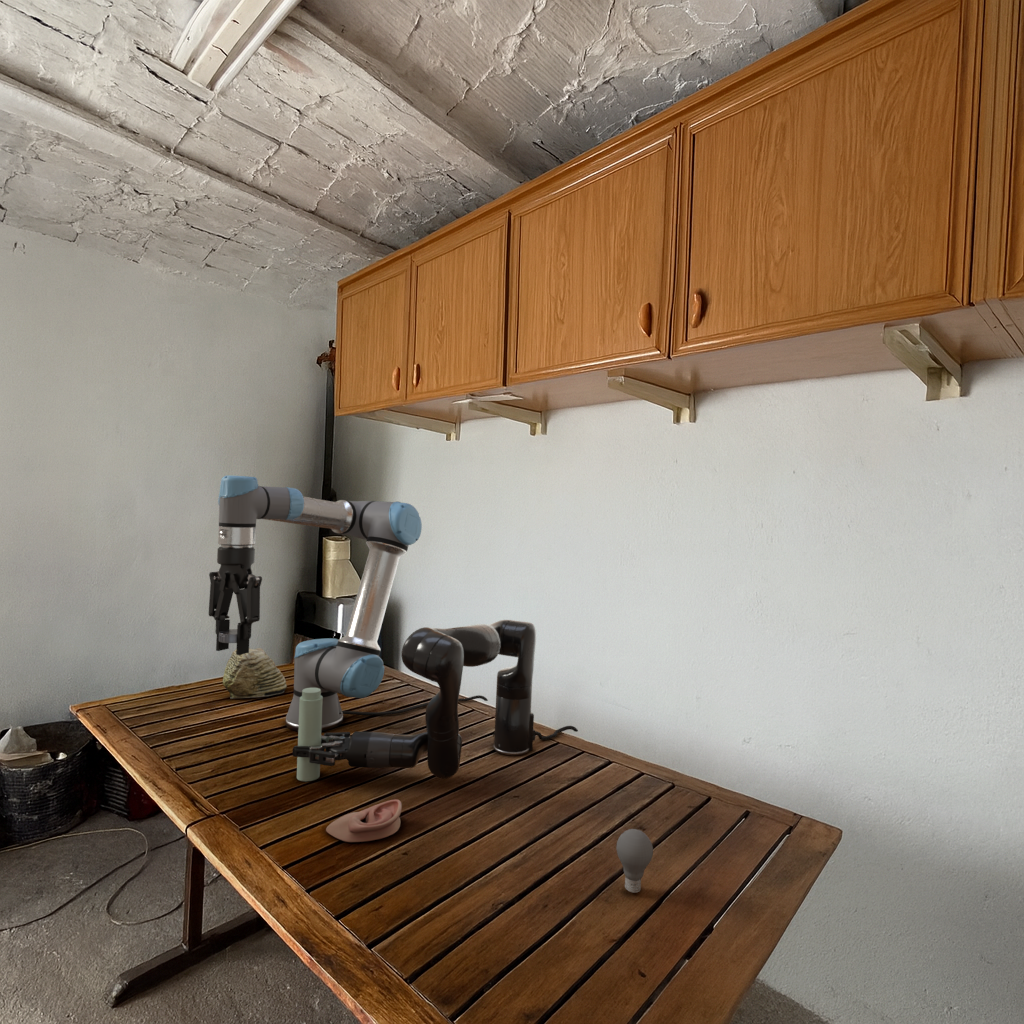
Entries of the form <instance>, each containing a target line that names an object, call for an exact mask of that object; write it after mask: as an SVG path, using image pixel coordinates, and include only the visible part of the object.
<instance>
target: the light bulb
mask: <svg viewBox="0 0 1024 1024" xmlns="http://www.w3.org/2000/svg"><path fill="white" fill-rule="evenodd" d="M615 849H616V854H617V857H618V859H619V861H620V863H621V865H622V867H623V873H624V874H623V875H624V876H625V878H624V888H625V890H627V891H628V892H630V893H634V894H635V893H639V892H640V891H641V889H642V887H641V886H642V879H643V877H644V875H645V871H646V868H647V867H648V866H649V864H650V863H651V861H652V859H653V855H654V847H653V843H652V841H651V838H649V836H648V835H647V834H646V833H645V832H643V831H642V830H641V829H636V828H629V829H627V830H625V831H623V832H622V833H621V834H620V835H619V837H618V839H617V841H616V847H615Z"/></svg>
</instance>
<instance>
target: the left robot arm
mask: <svg viewBox="0 0 1024 1024" xmlns="http://www.w3.org/2000/svg"><path fill="white" fill-rule="evenodd" d="M217 500H218V501H217V503H218V535H217V536H218V537H217V544H219V545H220V546H218V547H217V553H216V554H217V555H216V561H217V564H219V566H220V567H219V569H218V570H217V571H210V572H209V573H208V576H209V577H208V578H209V581H210V586H209V599H208V600H209V601H208V616H209V617H212V618H213V619H214V621H215V629H214V630H215V634H216V640H215V641H216V642H215V645H216V646H215V651H216V652H221V651H225V650H228V649H229V650H230V643H222V642H219V632H220V631H223V630H229V629H230V627H231V626H230V624H231V619H229V618H230V616H229V611H230V607H231V603H232V599H233V595H234V594H235V598H236V603H237V610H238V615H239V621H240V622H238V623H237V627H236V629H237V643H236V649H235V650H236V655H241V654H246V653H249V648H250V639H251V638H252V625H253V623H256V622H259V621H260V619H261V618H260V617H261V585H262V582H263V577H262V576H261V575H259V576H257V575H255V574H253V570H252V566H253V564H254V563H255V558H256V549H255V547H253V546H254V545H256V534H257V532H256V529H257V528H256V527H257V520H266V521H274V522H279V523H280V522H281V523H288V524H293V525H294V524H295V525H302V526H309V527H316V528H323V529H331V531H332V532H333V533H335V534H339V535H340V534H341V535H346V536H350V537H355V538H358V539H361V540H364V541H366V542H365V544H366V546H367V547H368V550H369V551H368V555H367V558H366V561H365V565H364V569H363V571H362V572H363V573H362V576H361V580H360V583H359V586H358V590H357V593H356V597H355V601H354V605H353V608H352V611H351V615H350V619H349V622H348V626H347V629H346V632H345V635H344V636H342V637H341V638H339V639H338V638H335V637H334V638H331V637H329V638H315V639H308V640H304V641H301V642H299V643H298V644H297V645H296V646H295V652H294V656H293V659H294V661H293V662H294V668H293V695H292V696H293V697H292V699H291V702H290V704H289V708H288V711H287V713H286V715H285V726H286V728H287V729H289V730H291V731H294V732H295V731H296V732H298V728H299V702H300V697H301V696H302V690H303V689H306V688H319V689H321V694H320V695H321V696H322V697H323V702H322V728H321V732H325V731H329V730H332V729H335V728H337V727H339V726H340V725H342V723H343V722H344V715H354V716H391V715H397V714H403V713H406V712H410V711H412V710H413V711H414V710H416V709H420V708H425V707H427V705H428V703H429V702H430V701H428V702H424V703H421V704H416V705H412V706H409V707H406V708H402V709H398V710H391V711H390V710H389V711H355V710H343V709H342V706H341V702H340V699H339V695H343V696H344V697H347V698H355V699H365V698H367V697H369V696H370V695H372V693H374V692H375V691H377V689H378V688H379V686H380V685H381V683H382V681H383V679H384V675H385V666H384V661H383V659H382V658H381V656H380V655H381V647H380V645H379V643H378V640H379V636H380V633H381V629H382V624H383V622H384V618H385V613H386V610H387V607H388V603H389V599H390V595H391V592H392V588H393V584H394V580H395V577H396V573H397V571H398V570H397V569H398V565H399V562H400V559H401V558H402V557H404V556H405V555H406V554H408V549H409V546H412V545H413V544H415V543H417V542H418V540H419V539H420V537H421V534H422V530H423V529H422V528H423V527H422V526H423V525H422V517H421V516H420V512H419V511H418V509H416V507H415V506H414V505H412V504H411V503H408V502H401V501H385V500H383V501H382V500H380V501H379V500H345V499H339V500H337V501H332V500H331V501H330V500H327V499H326V500H325V499H319V498H314V497H308V496H304V495H303V493H302V492H301V491H300V490H299V489H298V488H295V487H288V486H265V485H264V486H263V485H262V486H261V485H259V482H258V478H257V477H256V476H247V475H224V476H223V477H222V478H221V479H220V486H219V494H218V499H217ZM338 694H339V695H338ZM464 698H465V699H464ZM477 699H480V700H483V701H484V702H488V701H489V699H488V698H486V696H484V695H479V694H478V695H472V696H470V697H463V698H462V697H461V698H459V699H458V703H459V702H469V701H472V700H477Z"/></svg>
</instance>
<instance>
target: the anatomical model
mask: <svg viewBox="0 0 1024 1024" xmlns="http://www.w3.org/2000/svg"><path fill="white" fill-rule="evenodd" d="M402 808H403V804H402V802H401V800H399V799H391V800H387V801H383V802H380V803H377V804H374V805H372V806H370V807H367V808H365V809H362V810H360V811H353V812H350V813H347V814H344V815H342V816H340V817H338V818H337V819H335V820H333V821H332V822H330V823H329V825H327V826H326V828H325V832H326V833H327V834H329V835H330V836H332V837H333V838H335V839H338V840H340V841H342V842H345V843H360V842H361V843H363V842H371V841H375V840H381V839H384V838H387V837H389V836H392V835H394V834H395V833H397V832H398V831H399V829H400V827H401V824H402V823H401V817H400V816H401V813H402Z"/></svg>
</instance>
